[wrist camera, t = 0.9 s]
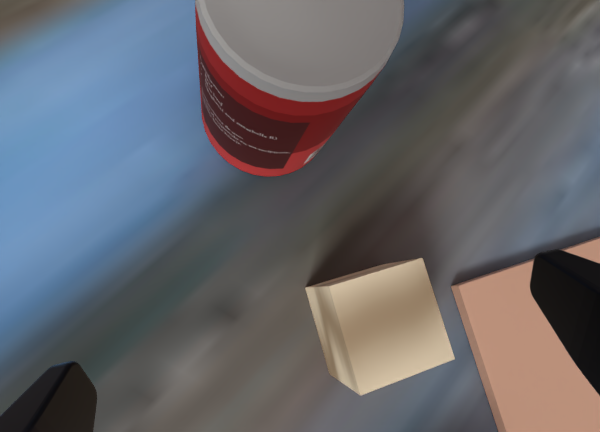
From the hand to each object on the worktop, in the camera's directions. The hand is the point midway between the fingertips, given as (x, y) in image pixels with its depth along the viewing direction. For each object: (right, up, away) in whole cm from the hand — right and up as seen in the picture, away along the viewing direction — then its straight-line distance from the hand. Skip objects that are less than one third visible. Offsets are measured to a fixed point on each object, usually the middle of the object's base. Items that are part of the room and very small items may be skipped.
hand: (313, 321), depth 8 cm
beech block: (+3, -4, +16) cm, 17 cm away
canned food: (-2, +8, +17) cm, 19 cm away
